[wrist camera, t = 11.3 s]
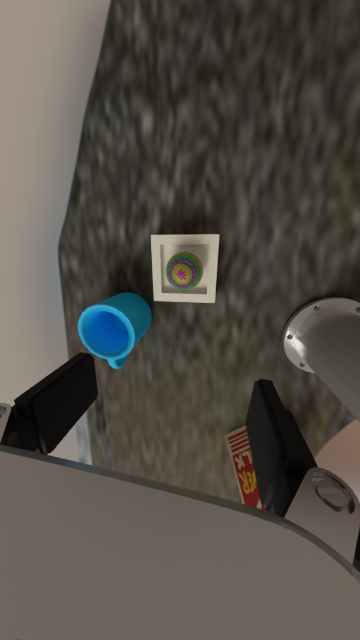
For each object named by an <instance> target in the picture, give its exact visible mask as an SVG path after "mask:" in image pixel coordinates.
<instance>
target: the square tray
mask: <svg viewBox="0 0 360 640" xmlns="http://www.w3.org/2000/svg"><path fill="white" fill-rule="evenodd" d="M218 247H219V234H197V235H151V248H152V270H153V291H154V301H175V302H203V303H215V292H216V277H217V262H218ZM180 252H190V253H192V254H194V255H196V256H197V257H198V258H199V260H200V261H201V263H202V266H203V275H202V278H201V280H200V282H199V283H198V285H196V286H195V287H194V288H192V289H189V290H179V289H176V288H175V287H173V286H172V285H171V284H170V283H169V281H168V279H167V277H166V266H167V263H168V261H169V260H170V258H171V257H172V256H174V255H175V254H177V253H180Z"/></svg>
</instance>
